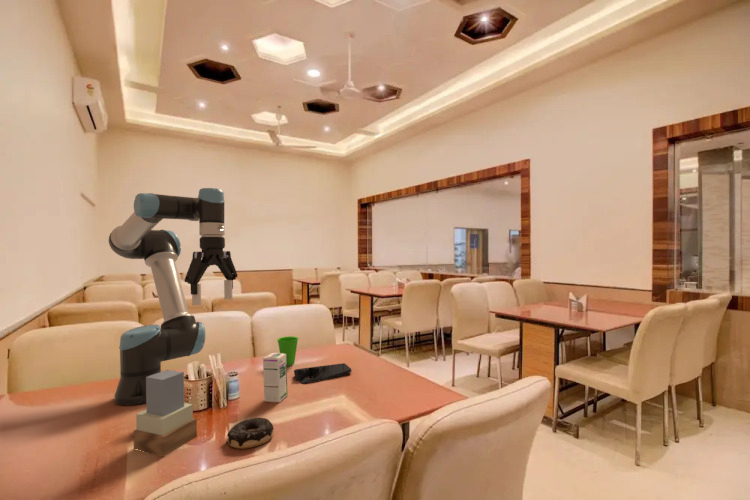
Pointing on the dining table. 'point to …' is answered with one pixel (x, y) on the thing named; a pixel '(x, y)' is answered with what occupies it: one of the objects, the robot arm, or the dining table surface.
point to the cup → (288, 348)
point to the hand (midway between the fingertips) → (213, 302)
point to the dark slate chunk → (321, 373)
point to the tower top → (164, 420)
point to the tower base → (165, 439)
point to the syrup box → (275, 377)
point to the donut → (250, 433)
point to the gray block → (164, 392)
